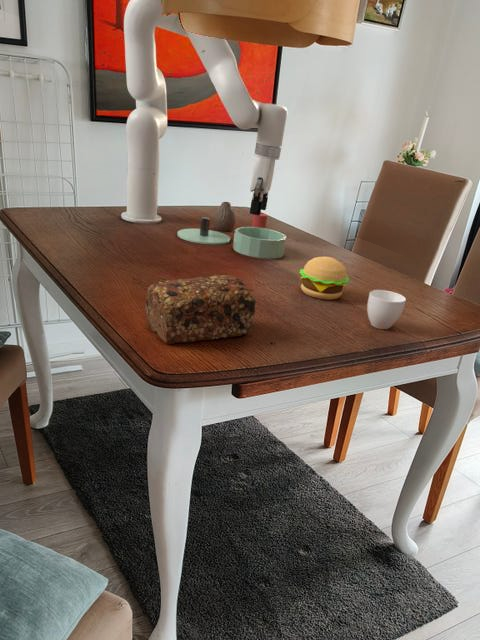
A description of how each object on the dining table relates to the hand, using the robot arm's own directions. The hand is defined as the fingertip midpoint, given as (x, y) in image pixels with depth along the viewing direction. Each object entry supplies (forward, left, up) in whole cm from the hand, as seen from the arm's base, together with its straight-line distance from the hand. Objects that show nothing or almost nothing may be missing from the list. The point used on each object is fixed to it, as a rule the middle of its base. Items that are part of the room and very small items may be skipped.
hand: (257, 211), depth 180 cm
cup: (+60, +40, -8) cm, 72 cm away
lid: (+14, -13, -7) cm, 20 cm away
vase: (0, -10, -8) cm, 13 cm away
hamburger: (+46, +26, -8) cm, 53 cm away
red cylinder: (0, +1, -8) cm, 8 cm away
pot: (+18, +5, -8) cm, 20 cm away
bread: (+84, +6, -8) cm, 85 cm away
